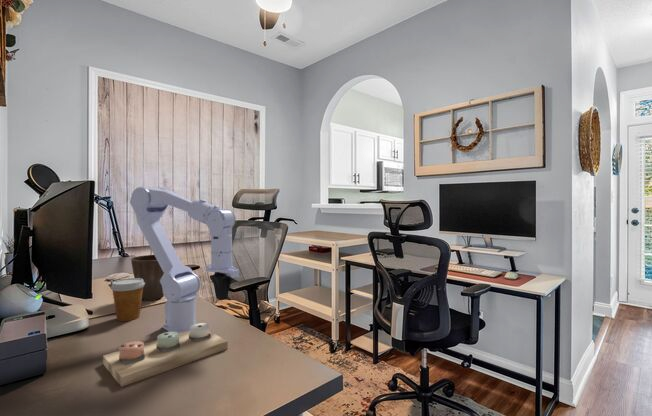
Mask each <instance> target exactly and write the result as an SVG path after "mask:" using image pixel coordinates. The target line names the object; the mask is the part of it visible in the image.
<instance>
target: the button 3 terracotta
mask: <svg viewBox="0 0 652 416" xmlns="http://www.w3.org/2000/svg"><path fill="white" fill-rule="evenodd" d="M144 343H145V342H144V341H138V340H137V341H129V342H126V343H124V344H121V345H120V346H119V348H118V349H119V350H118V351H119V358H120V359H124V360H127V359H133V358H137V357H139V356H141V355H143V353H144Z"/></svg>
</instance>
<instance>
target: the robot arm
mask: <svg viewBox="0 0 652 416" xmlns="http://www.w3.org/2000/svg"><path fill="white" fill-rule="evenodd" d="M129 204H130V206H131V208H132V210H133V211H134V213H135V216H136V217H135V218H136V221H137V224H138V225H137V226H138V227H139V229H140V230H141V232H142V234H143V236H144V238H145V240H146V242H147V244H148V246H149V247H150V250H151V252H152V253H153V255H155V257H156V259H157V261H158V263H159V265H160V267H161V268H162V270H163V272H164V274H163V276H162V278H161V280H160V283H161V285H162V289H163V294H164V296H163V298H165V299H166V301H165V304H164V324H163V325H161V328H162V329H164V330H165V331H167V332H178V333H183V332H186V331H190V327H191V326H192V325H194V324H197V323H196V297H197V293H198V292H199V291H200V290H201V289H200V288H201V285H202V284H201V283H202V282H201V279H200V277H199V276H198V275H197V274H196V273H195V272H194V271H193V270H192V268H191V267H189V266H187V265H185V264H183V263H182V261H181V259H180V257H179V256H178V253H177V252H176V250H175V248H174V246H173V244H172V242H171V240H170V239H169V237H168V235H167V233H166V231H165V229H164V228H163V226H162V224H161V222H160V219H161V218H162V217H163V216H164V213H165V212H166V211H167V209H168V207H169V206H170V207H173V208H176V209H179V210H181V211H183V212H187V215H188V217H189V218H191V219H193V220H195V221H197V222H199V223H202V224H204V225H206V226H207V228H208V229H209V235H210V250H211V251H210V256H211V259H210V262H211V263H210V264H206V272H208V273H214V274H210V275H209V279H210V281H211V282H212V284H213V287H214V290H215V293H216V297H217V300H219V301H225V300H227V299H228V296H229V291H230V287H231V285H232V283H233V280H234V279H235V278H240V270H239V269H238V268H236V267H234V266H233V227H234V226H235V223H236V215H235V213H234V212H233V211H232V210H230V209H229V208H224V209H221V208H220V206H219V205H217V204H216V205H212V204H210V203H208V202H207V199H203V198H202V199H201V198H200V199H195V200H193V201H192V200H190V199H189V198H186V197H184V196H181V195H180V194H178V193H176V192H173V191H172V190H169V189H166V188H164V187H163V188H154V187H152V188H149V187H141V186H140V187H136V188H134V189H133V191H132V193H131V196H130V199H129Z"/></svg>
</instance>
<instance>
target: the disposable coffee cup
mask: <svg viewBox="0 0 652 416" xmlns="http://www.w3.org/2000/svg"><path fill="white" fill-rule="evenodd" d="M144 285H145V283H144V281H143V279H141V278H134V277H133V278H132V277H131V278H121V279H118V280H115V281H112V283H111V286H110V289H111V291H112V296H113V302H114V303H113V304H114V309H115V314H116V320H117V321H118V322H128V321H129V322H130V321H134V320H136V319H139V318H140V314H141V308H142V301H143V299H142V293H143V287H144Z"/></svg>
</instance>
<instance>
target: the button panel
mask: <svg viewBox="0 0 652 416" xmlns="http://www.w3.org/2000/svg"><path fill="white" fill-rule="evenodd" d="M143 343H144V353H143V355H141V356H139V357H137V358H133V359H127V360H124V359H120V358H119V350H117V351H114V352H110V353H107V354H104V355H102V365H103V366H104V367H105V368H106V370H107V371H108V372H109V374H110V375H111V376H112V377H113V378H114V379H115V381H116V382H117V383H118V385H119V386H120V387H121V388H123V387H126V386H129V385H131V384H134V383H137V382H140V381H142V380H144V379H147V378H150V377H154V376H156V375H159V374H162V373H164V372H167V371H171V370H172V369H175V368H179V367H180V366H184V365H186V364H190V363H192V361H193V362H195V361H197V360H200V359H204V358H206V357H209V356H212V355H214V354H217V353H221V352H222V351H225V350H228V349H229V346H228V340H227V339H224V338H223V337H221V336H219V335H217V334H215V333H213V332H212V331H210V330H209V334H208V335H207V336H204V337H200V338H193V337H190V331H186V332H183V333H179V343H178V344H177V345H175V346H172V347H168V348H160V347H158V346H157V339H155V340H152V341H148V342H143Z"/></svg>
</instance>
